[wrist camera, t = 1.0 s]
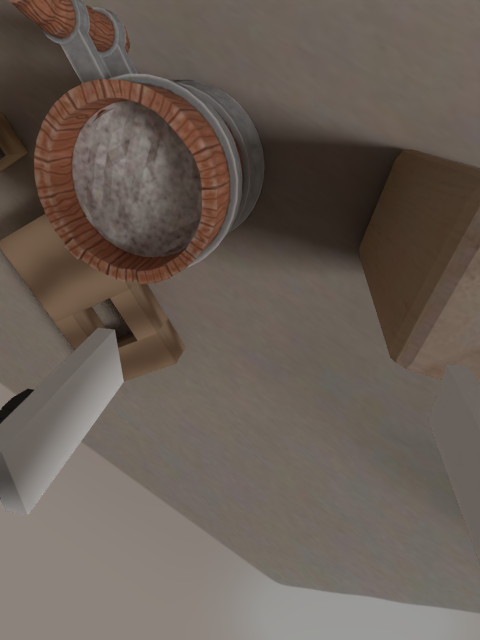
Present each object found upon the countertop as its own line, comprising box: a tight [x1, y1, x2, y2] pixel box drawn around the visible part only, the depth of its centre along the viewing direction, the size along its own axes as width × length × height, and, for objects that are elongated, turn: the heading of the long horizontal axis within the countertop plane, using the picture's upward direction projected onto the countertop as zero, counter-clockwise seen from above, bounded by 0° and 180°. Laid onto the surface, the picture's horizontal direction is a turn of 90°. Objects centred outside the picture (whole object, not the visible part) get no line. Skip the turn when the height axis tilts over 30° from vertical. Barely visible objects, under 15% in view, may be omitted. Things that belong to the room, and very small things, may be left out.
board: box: [0, 214, 185, 381], centre depth 43 cm, size 20×11×4 cm, turn 26°
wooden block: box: [359, 150, 480, 384], centre depth 26 cm, size 10×10×20 cm
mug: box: [8, 0, 264, 284], centre depth 29 cm, size 14×19×15 cm
